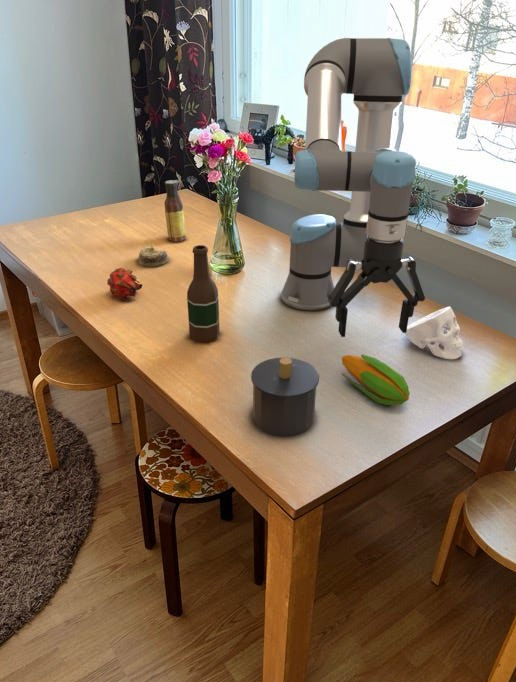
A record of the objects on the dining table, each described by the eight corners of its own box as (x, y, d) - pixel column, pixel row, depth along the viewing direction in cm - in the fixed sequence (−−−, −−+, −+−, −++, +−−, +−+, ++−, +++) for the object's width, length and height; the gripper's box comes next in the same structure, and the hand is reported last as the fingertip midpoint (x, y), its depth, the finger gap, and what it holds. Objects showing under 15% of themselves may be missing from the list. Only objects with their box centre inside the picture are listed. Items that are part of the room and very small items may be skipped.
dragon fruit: (117, 291, 175) (137, 311, 169) (94, 283, 168) (114, 303, 162) (131, 267, 173) (152, 286, 167) (109, 257, 166) (130, 277, 160)
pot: (249, 401, 128) (249, 363, 122) (306, 397, 129) (308, 359, 124) (258, 439, 118) (258, 399, 112) (319, 433, 119) (322, 393, 113)
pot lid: (247, 364, 123) (246, 345, 120) (310, 359, 124) (311, 340, 122) (256, 403, 112) (256, 383, 109) (325, 397, 113) (327, 377, 111)
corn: (397, 388, 119) (331, 346, 132) (390, 418, 123) (327, 374, 136) (421, 378, 123) (354, 338, 136) (414, 407, 127) (350, 366, 140)
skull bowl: (456, 364, 138) (439, 315, 135) (408, 370, 149) (392, 326, 147) (478, 347, 144) (462, 300, 142) (430, 355, 155) (415, 312, 153)
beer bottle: (225, 333, 152) (223, 244, 138) (208, 346, 147) (204, 256, 133) (201, 325, 155) (196, 238, 142) (183, 338, 150) (176, 249, 136)
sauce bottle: (189, 238, 206) (185, 180, 195) (178, 244, 202) (174, 185, 190) (175, 234, 209) (170, 177, 198) (163, 240, 205) (158, 182, 193)
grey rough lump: (156, 271, 185) (153, 255, 181) (132, 264, 189) (128, 249, 186) (175, 258, 191) (173, 242, 188) (151, 252, 195) (149, 237, 192)
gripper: (327, 247, 110) (319, 344, 122) (453, 240, 113) (433, 336, 125) (318, 233, 116) (311, 327, 128) (438, 227, 119) (420, 320, 131)
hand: (372, 332), depth 127 cm, fingers open, 13 cm apart
